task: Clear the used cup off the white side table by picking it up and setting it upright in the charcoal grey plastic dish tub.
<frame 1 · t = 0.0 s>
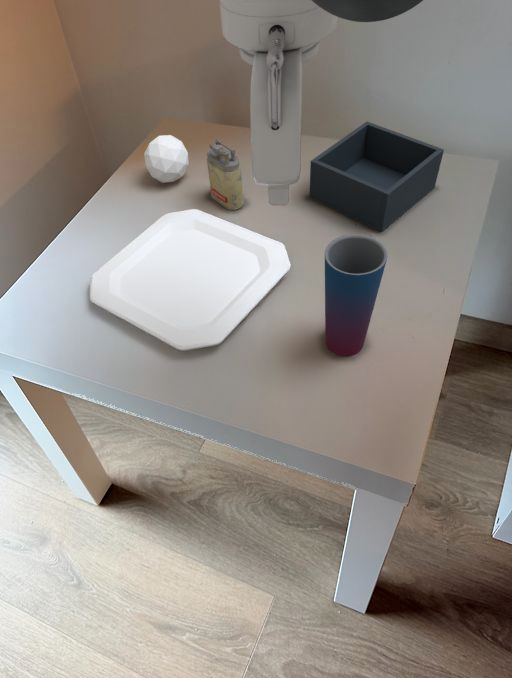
hand: (280, 170, 51), 26 cm above the table, tool pointing down, fingers open, 8 cm apart
cup: (344, 343, 72), on the table
plate: (191, 282, 81), on the table
geometric ball: (170, 179, 98), on the table
dish tub: (371, 192, 90), on the table
lighter: (228, 200, 93), on the table
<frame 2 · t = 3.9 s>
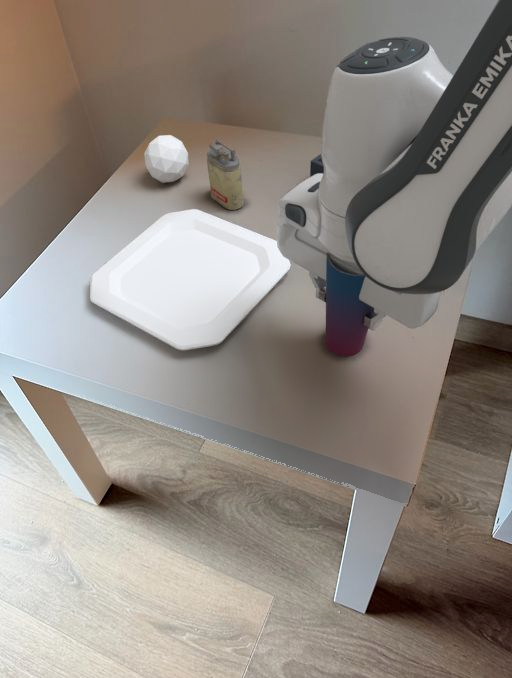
hand: (347, 310, 66), 6 cm above the table, tool pointing down, fingers closed on cup, 6 cm apart
cup: (344, 342, 72), on the table, touching gripper
everything else where it was.
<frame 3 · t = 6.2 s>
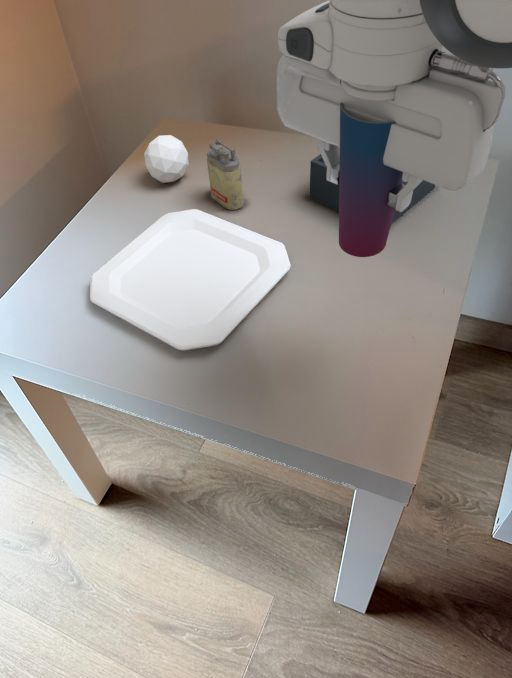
hand: (366, 193, 53), 23 cm above the table, tool pointing down, fingers closed on cup, 6 cm apart
cup: (362, 243, 58), point 16 cm above the table, touching gripper
everything else where it was.
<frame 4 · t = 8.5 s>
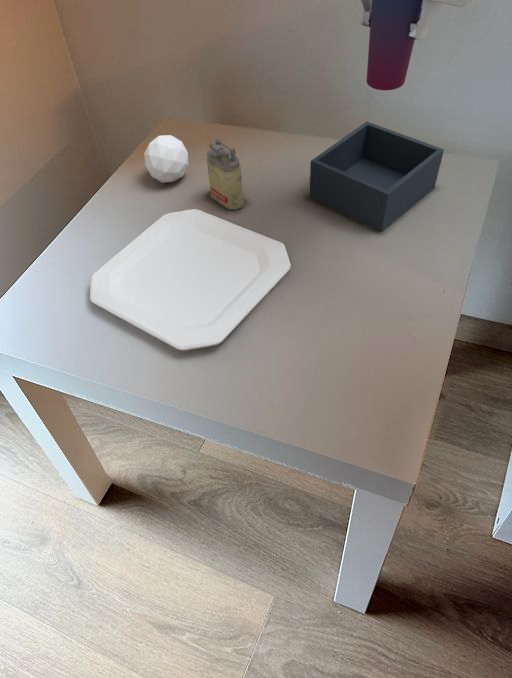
hand: (391, 31, 68), 25 cm above the table, tool pointing down, fingers closed on cup, 6 cm apart
cup: (385, 82, 73), point 19 cm above the table, touching gripper
everything else where it was.
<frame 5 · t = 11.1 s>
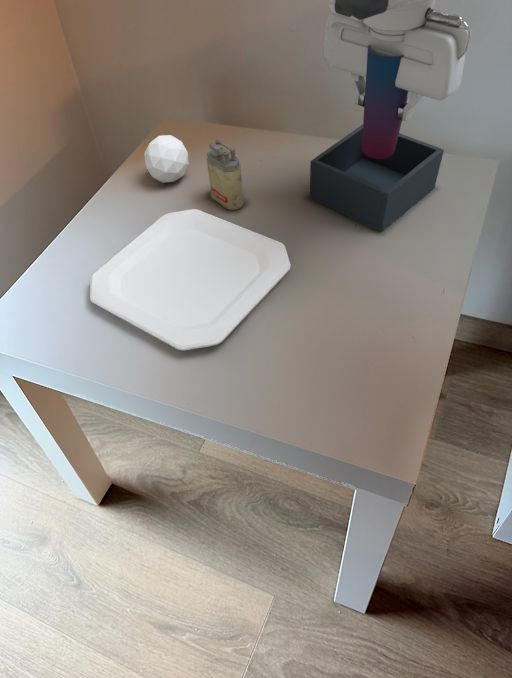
hand: (382, 111, 79), 14 cm above the table, tool pointing down, fingers closed on cup, 6 cm apart
cup: (377, 151, 84), point 7 cm above the table, touching gripper
everything else where it was.
when the fingers open (7 cm above the table, at t = 13.2 s): cup stays where it is, resting on dish tub.
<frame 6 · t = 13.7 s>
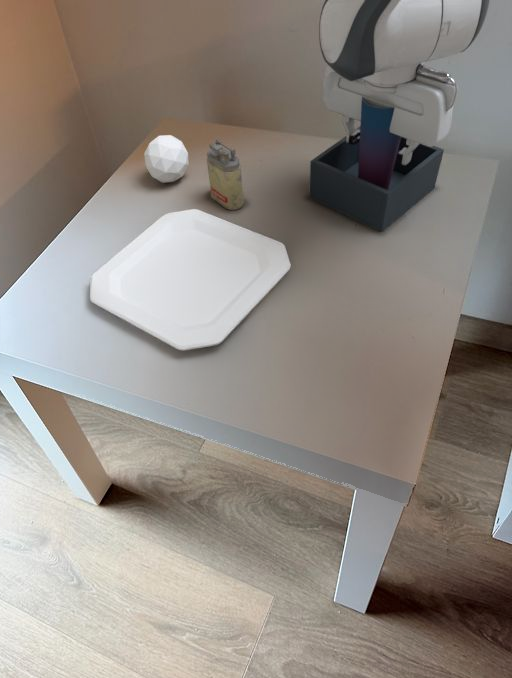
hand: (377, 152, 84), 7 cm above the table, tool pointing down, fingers open, 8 cm apart
cup: (372, 189, 89), point 1 cm above the table, touching dish tub
everything else where it was.
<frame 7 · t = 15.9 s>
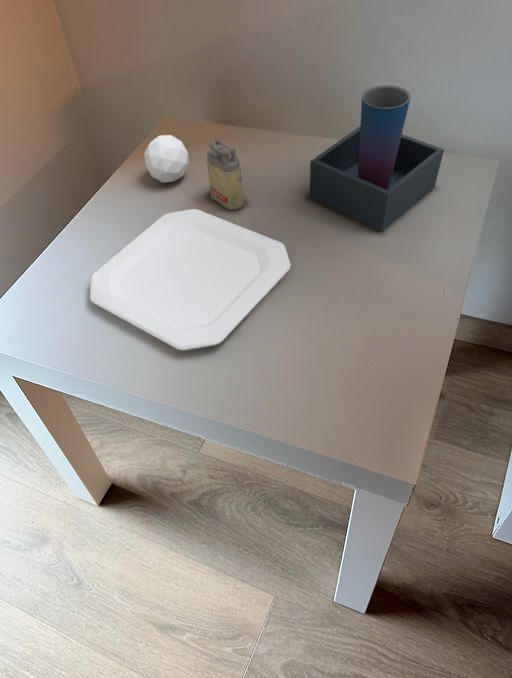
nothing on the table moved.
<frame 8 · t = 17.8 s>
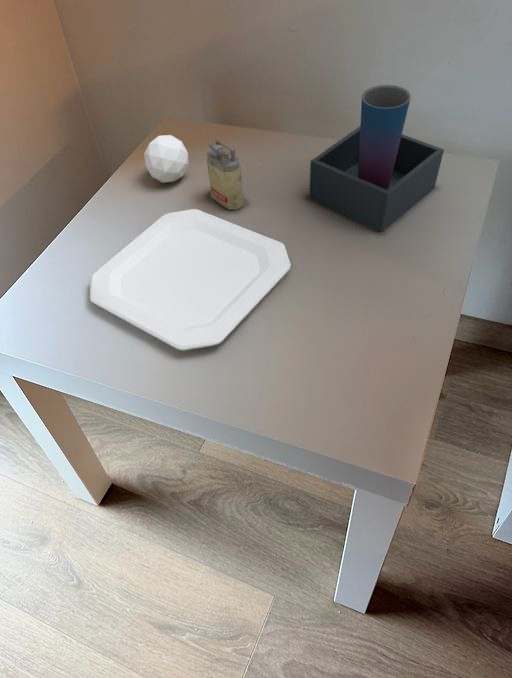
nothing on the table moved.
at the end: cup inside the target area in the dish tub (0.2 cm from its centre), point 0.6 cm above the dish tub's base; cup tilted 0°; the gripper is holding nothing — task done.
